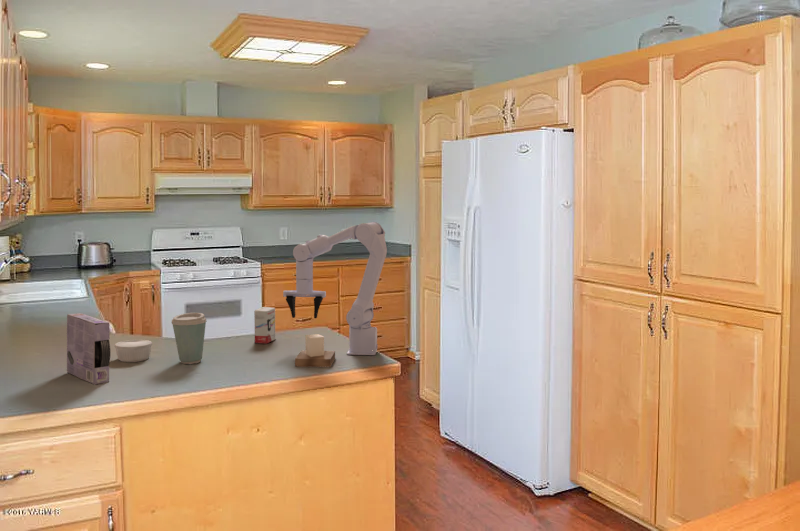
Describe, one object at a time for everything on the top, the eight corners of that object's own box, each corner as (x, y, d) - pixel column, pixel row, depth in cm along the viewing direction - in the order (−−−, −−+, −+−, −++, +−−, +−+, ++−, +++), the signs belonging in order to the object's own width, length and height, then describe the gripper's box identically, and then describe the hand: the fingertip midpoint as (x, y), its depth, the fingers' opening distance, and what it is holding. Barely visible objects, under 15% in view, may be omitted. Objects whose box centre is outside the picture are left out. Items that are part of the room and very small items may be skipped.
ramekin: (143, 353, 232) (142, 337, 232) (158, 359, 224) (158, 343, 224) (109, 358, 224) (108, 342, 224) (124, 365, 216) (123, 348, 216)
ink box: (266, 344, 247) (266, 311, 246) (253, 343, 248) (253, 310, 247) (275, 338, 256) (275, 307, 254) (263, 338, 257) (263, 306, 255)
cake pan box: (113, 382, 197) (111, 320, 195) (95, 386, 193) (93, 323, 192) (83, 370, 210) (80, 312, 208) (65, 373, 206) (63, 314, 204)
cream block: (318, 352, 225) (318, 334, 225) (324, 355, 221) (323, 336, 221) (305, 353, 223) (305, 335, 223) (310, 356, 219) (310, 338, 219)
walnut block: (335, 360, 228) (335, 351, 227) (330, 368, 217) (330, 359, 216) (301, 359, 228) (301, 350, 228) (295, 367, 217) (295, 358, 217)
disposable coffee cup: (193, 367, 214) (192, 319, 213) (164, 363, 218) (163, 316, 216) (214, 359, 224) (213, 313, 223) (186, 356, 228) (185, 311, 226)
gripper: (327, 277, 244) (327, 315, 246) (286, 276, 245) (286, 315, 246) (323, 280, 237) (323, 319, 239) (281, 279, 238) (281, 318, 239)
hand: (304, 317), depth 242 cm, fingers open, 7 cm apart
